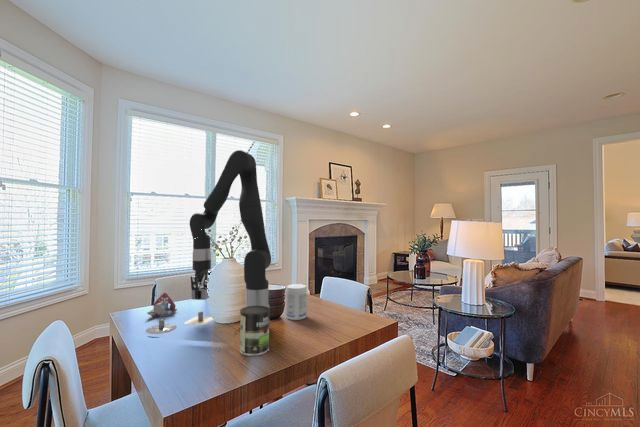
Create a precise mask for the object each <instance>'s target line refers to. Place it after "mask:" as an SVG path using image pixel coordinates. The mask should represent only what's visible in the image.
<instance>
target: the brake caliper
mask: <svg viewBox="0 0 640 427" xmlns="http://www.w3.org/2000/svg"><path fill="white" fill-rule="evenodd" d="M177 311H178V309H177V308H176V304H175V302H174V301H173V300H172V298H171V297H170V296H169V295H168V293H167V292H163V293H162V294H161V295H160V296H159V297H157V299H156V300H155V301H154V302H153V308H152V309H150V310H149V311H147V313H146V314H147V315H149V317H148V318H147V320H150V319H153V318H154V319H159V318H160V317H162V316H163V317H169V316H171V315H174V313H175V312H177Z"/></svg>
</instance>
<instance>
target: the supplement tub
mask: <svg viewBox="0 0 640 427" xmlns="http://www.w3.org/2000/svg"><path fill="white" fill-rule="evenodd" d="M285 290H286V291H285V294H286V295H285V302H286V303H285V304H286V305H285V308H286V309H285V310H286V312H285V316H286V319H288V320H291V321H299V320H301V321H302V320H304V319H305V318H306V317H307V312H308V311H307V306H308V305H307V303H308V302H307V296H308V295H307V285H305V284H300V283H293V284H289V285H287V286H286V289H285Z"/></svg>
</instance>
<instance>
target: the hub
mask: <svg viewBox="0 0 640 427" xmlns="http://www.w3.org/2000/svg"><path fill="white" fill-rule="evenodd" d="M177 327H178V326H177V325H176V324H174V323H165V318H162V319H159V320H158V324H156V325H152V326H150V327H148V328H146V329H145V333H147V334H150V335H151V334H152V335H160V334H166V333H170V332H172V331H174V330H176V329H177ZM146 337H147V338H152V339H153V338H154V339H158V338H160V336H159V337H158V336H149V335H147V336H146Z"/></svg>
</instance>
